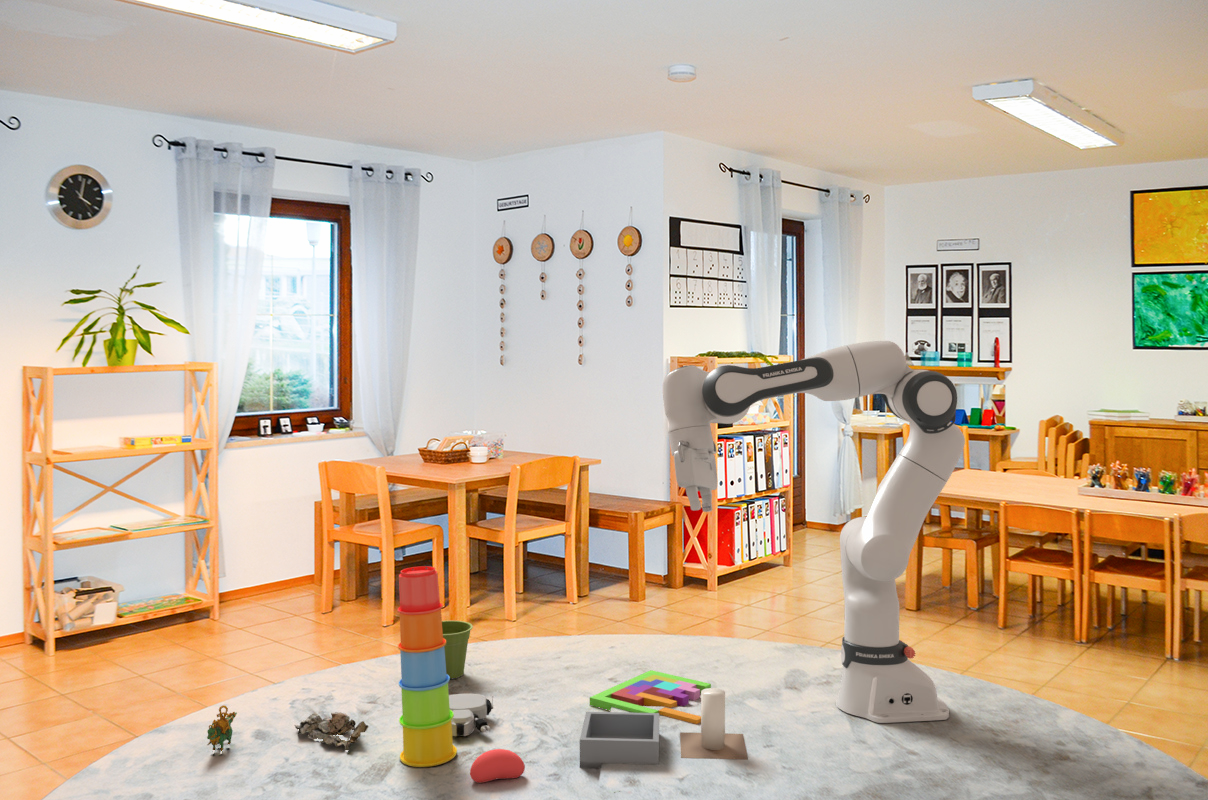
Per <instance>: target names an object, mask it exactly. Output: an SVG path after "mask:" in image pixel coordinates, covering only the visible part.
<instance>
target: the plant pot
mask: <svg viewBox="0 0 1208 800" xmlns="http://www.w3.org/2000/svg"><path fill="white" fill-rule="evenodd" d="M473 628H474V627H473V624H472V623H470V622H467V621H463V620H442V630H443V638H444V639H446V644H445V645H444V649H445V662H446V674H447V675H449V677H450V679H451V678H456V679H458V678H460V676H461V677H462V676H463V675H464V673H465V666H466V659H467V651H468V643H469V639H470V635H471V630H473ZM457 677H458V678H457Z"/></svg>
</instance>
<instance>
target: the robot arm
mask: <svg viewBox="0 0 1208 800" xmlns="http://www.w3.org/2000/svg"><path fill="white" fill-rule="evenodd" d="M795 394H809V395H812V396H815V397H816V398H817V399H819V400H821V401H824V402H836V401H837V402H838V401H839V402H840V401H847V400H852V399H857V398H861V397H866V396H869V395H878V394H879V395H880V396H881V398H882V399H883V401H884V403H885V405H886V408H888V410H889V411H890V413H892V414H893V415H894V416H895V417H896V418H898V419H900V420H903V421H905V422H908V424H909V433H908V437H907V439H906V442H905V443H904V445H903V446H902V448H901V449H900V451H899V453H898V454H897V456H896V457H895V459H894V461H893V462H892V464H891V466H890V467H889V468H888V471H887V472H886V473H885V475H884V477H883V478H882V480H881V482H880V483H879V484H878V487H877V489H876V495H875V496H874V500H873V502H872V505H871V507H870V510H869V511H868V514H867V516H859V517H855V518H853V519H850V520H848V522H846V523H845V524H844V525H843V527H842V529H841V532H840V535H839V549H840V565H841V579H842V590H843V596H844V597H843V598H844V624H843V625H844V626H843V628H844V629H843V630H844V631H843V632H844V633H843V634H844V635H843V637H842V639H841V647H840V648H841V655H840V657H841V664H842V672H841V678H840V685H839V690H838V694H837V697H836V700H835V705H836V707H837V708H838V709H839V710H840V711H843V712H844V713H847V714H848V715H853V716H856V717H859V718H860V717H861V718H863V719H867V720H870V721H872V722H874V723H878V724H889V723H909V722H929V721H930V722H931V721H946V720H947V719H949V718H950V708H949V706H948V705H947V704H946V702H945V701H944V700H942V699H941V698H940V697H939V696H938V693H937V687H936V685H935V683H934V680H933V679H932V678H931V677H930V676H929V675H928V674H927V673H926V672H925V671H924V670H923V669H921V668H920V667H919V666H918V665H916V664H915V663H914V662H912V661H911V660H910V659H913V658H915V657H916V651H915V650H914V648H913V647H911V646H909V645H908V644H907V643H905V642H904V641H903V640H901V639H900V601H899V595H898V592H897V584H896V579H898V578H899V577H900V576H902V575H903V574H904V573H905V571H906V569H907V567H908V565H909V560H910V555H911V552H912V551H913V548H914V545H915V543H916V542H917V540H918V537H919V534H920V532H921V531H920V530H921V529H922V526H923V524H924V521H925V519H926V517H927V515H928V513H929V511H930V510H931V508H932V506H933V505H934V503H935V501H936V500H937V498H939V497H938V496H939V495H940V493H941V492H942V490H943V489H944V488H945V486H946V484H947V483H948V481H949V479H950V478H951V476H952V474H953V472H954V471H955V469H956V466H957V464H958V462H959V461H960V459H961V458H960V457H961V455H962V452H963V450H964V448H965V444H966V440H965V439H966V438H965V435H964V433H963V432H962V431H961V429H960V428H959V427H958V426H957V425H956V424H955V423H956V419H957V418H956V415H957V411H956V410H957V404H958V393H957V388H956V386H955V384H954V383H953V381H952V380H950V379H949V377H947V376H946V375H944V374H942V373H941V372H938V371H936V370H935V371H933V370H928V369H913V368H911V367H909V365H908V363H907V358H906V357H905V354H904V352H903V350H902V348H901V347H900V346H899V345H898V344H897V343H895V342H893V341H892V340H872V341H864V342H862V341H861V342H856V343H851V344H847V345H843V346H837V347H835V348H834V347H833V348H830V349H828V350H825V351H821V352H819V353H816V354H814V355H810V356H808V357H806V358H805V357H804V358H802V359H799V360H795V361H790V362H783V363H778V364H772V365H768V366H767V365H766V366H762V367H751V368H749V367H744V366H738V365H733V364H732V365H731V364H729V365H728V364H727V365H726V364H725V365H721V366H718V367H716V368H714V369H713V370H711V371H710V372H708V371H706V370H704V369H701V368H699V367H698V366H696V365H692V364H691V365H690V364H689V365H684V366H680V367H677V368H675V369H673V370H672V371H670V372H669V373H667V375H666V376H665V377H664V379H663V383H662V400H663V406H664V412H665V413H664V414H665V416H666V418H667V421H668V429H667V433H668V439H669V440H668V441H669V446H670V452H671V454H670V455H671V456H672V457H673V463H674V470H675V479H676V483H677V486H678V487H679V488H683V489H685V493H686V496H687V498H688V501H689V504H690V510H691V511H693V512H694V511H699V510H701V509H702V512H704V513H710V512H712V511H713V505H712V501H713V492H712V491H715V490H717V489H718V472H717V471H718V469H717V461H716V457H715V455H716V454H718V453H717V451H718V450H717V447H716V443H715V442H714V438H713V433H712V430H711V428H712V427H711V424H724V425H725V424H726V425H727V424H728V425H730V424H735V423H738V422H740V421H741V420H743V419H744V417H745V416H746V415H747V414H748V412H749V410H750V408H751V406H753V405H754V404H755V403H757V402H759V401H763V400H767V399H773V398H778V397H783V396H787V395H795ZM698 492H699V493H700V496H701V500H700V497H699V494H698ZM701 501H702V502H701Z"/></svg>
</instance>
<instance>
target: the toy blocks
mask: <svg viewBox="0 0 1208 800" xmlns="http://www.w3.org/2000/svg"><path fill="white" fill-rule="evenodd" d="M707 688H712V683H708V682H704V681H699V680H697V679H691V678H688V677H682V676H679V675H675V674H670V673H666V672H665V673H664V672H662V671H661V672H660V671H658V670H657V671H656V670H652V669H651V670H648V671H646V672H644V673H641V674H639V675H637V676H634V677H633V678H630V679H628V680H626V681H624V682H621V683H619V684H616V685H614V686H612V687H610V688H607V689H605V690H603V691H600V692H599V693H596V694H594V695H592V696H590V697H589V706H590V705H593V706H596V707H595V708H597V707H600V708H603V709H602V710H604V709H607V710H606V711H608V710H610V711H609V712H612V711H611V710H612V708H615V709H618V710H623V711H626V712H628V713H659V716H664V717H667V718H672V719H674V720H675V719H676V720H678V721H679V720H680V721H683V722H686V723H689V724H690V723H691V724H694V725H699V724H701V715H697V714H693V713H688V712H685V711H681V710H677V709H673V708H677V707H678V706H680V707H684V706H688V705H689V704H690V700H691V701H696V700H698V699H701V691H702V690H703V689H707ZM593 706H592V707H593ZM651 707H656V708H657V707H660V708H661V707H662V708H661V709H659V710H658V709H656V708H655V709H654V708H651ZM600 708H599V709H600Z"/></svg>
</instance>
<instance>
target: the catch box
mask: <svg viewBox="0 0 1208 800" xmlns="http://www.w3.org/2000/svg"><path fill="white" fill-rule="evenodd" d="M584 714H585V715H584V719H583V722H582V728H581V733H580V735H579V736H580V737H579V768H586V769H588V768H589V769H590V768H591V769H601V768H602V767H603V763H605V764H636V765H637V764H638V765H640V764H642V765H659V762H660V761H659V758H660V715H659V713H633V712H627V711H626V712H623V711H621V712H619V711H585V713H584Z"/></svg>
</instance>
